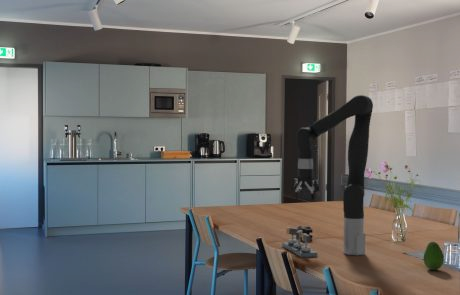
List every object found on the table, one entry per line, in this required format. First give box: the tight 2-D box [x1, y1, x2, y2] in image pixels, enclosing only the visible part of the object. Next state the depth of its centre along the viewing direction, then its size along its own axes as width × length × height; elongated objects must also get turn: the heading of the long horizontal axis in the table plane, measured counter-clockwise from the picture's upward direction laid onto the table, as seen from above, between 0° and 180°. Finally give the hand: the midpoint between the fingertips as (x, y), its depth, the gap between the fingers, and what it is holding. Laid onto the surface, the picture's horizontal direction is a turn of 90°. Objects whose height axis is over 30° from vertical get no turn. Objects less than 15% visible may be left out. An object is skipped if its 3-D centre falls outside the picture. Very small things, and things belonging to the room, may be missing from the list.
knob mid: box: [294, 230, 305, 248], centre depth 268 cm, size 6×4×8 cm
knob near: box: [301, 234, 312, 251], centre depth 260 cm, size 6×4×8 cm
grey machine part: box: [296, 225, 314, 242], centre depth 300 cm, size 10×7×7 cm
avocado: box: [423, 241, 445, 271], centre depth 233 cm, size 8×8×12 cm
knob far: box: [286, 227, 299, 244], centre depth 277 cm, size 6×4×8 cm
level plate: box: [281, 241, 318, 259], centre depth 268 cm, size 26×8×3 cm, turn 14°
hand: (305, 200), depth 277 cm, fingers open, 8 cm apart
